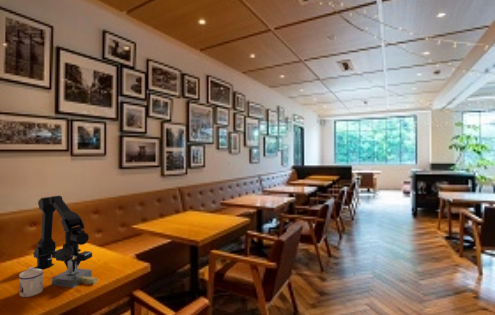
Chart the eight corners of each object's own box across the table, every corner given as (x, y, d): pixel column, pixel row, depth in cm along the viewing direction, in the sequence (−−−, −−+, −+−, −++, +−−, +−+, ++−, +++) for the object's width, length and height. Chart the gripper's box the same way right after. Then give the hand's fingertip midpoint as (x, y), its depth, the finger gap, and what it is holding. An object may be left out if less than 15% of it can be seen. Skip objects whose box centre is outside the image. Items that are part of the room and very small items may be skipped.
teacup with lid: (19, 291, 133) (18, 266, 133) (43, 285, 139) (43, 261, 138) (18, 302, 123) (17, 276, 123) (44, 296, 129) (43, 270, 128)
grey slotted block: (51, 285, 139) (51, 278, 139) (71, 274, 151) (71, 267, 151) (86, 289, 135) (86, 282, 135) (103, 277, 147) (103, 271, 147)
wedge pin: (72, 275, 145) (71, 259, 145) (76, 275, 145) (76, 259, 144) (67, 277, 143) (67, 261, 142) (72, 277, 142) (72, 262, 142)
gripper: (41, 244, 137) (42, 276, 138) (75, 247, 133) (75, 280, 134) (60, 237, 148) (61, 267, 148) (92, 240, 144) (93, 270, 145)
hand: (72, 271), depth 144 cm, fingers closed on wedge pin, 3 cm apart
